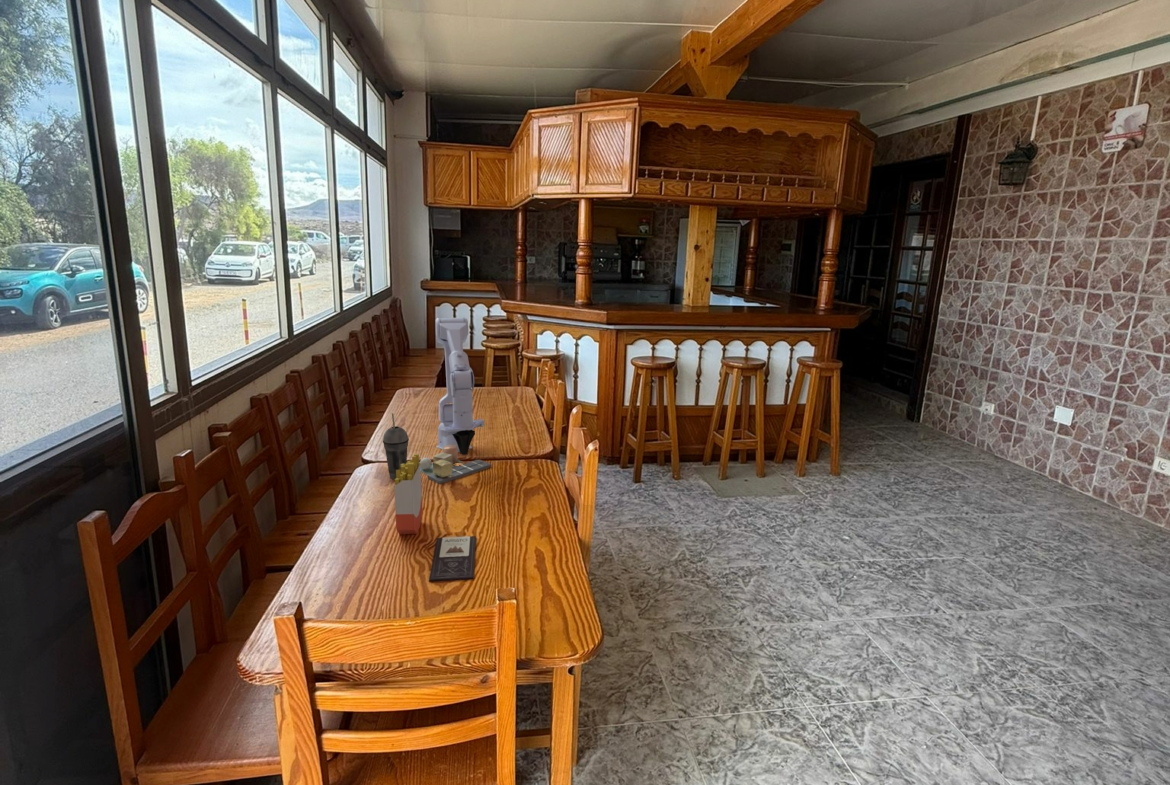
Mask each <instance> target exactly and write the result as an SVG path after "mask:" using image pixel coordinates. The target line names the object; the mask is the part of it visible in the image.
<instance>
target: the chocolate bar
mask: <svg viewBox="0 0 1170 785" xmlns="http://www.w3.org/2000/svg"><path fill="white" fill-rule="evenodd" d="M476 542H477V537H476V535H470V536H449V537H444V536H443V537H436V541H435V545H434V551H433V556H432V562H431V568H430V573H429V577H428V583H431V582H432V583H434V582H436V583H437V582H450V581H451V582H452V581H453V582H454V581H467V580H468V581H469V580H474V579H475V578H474V577H475V563H476V562H475V560H476V559H475V558H476V544H477V543H476Z"/></svg>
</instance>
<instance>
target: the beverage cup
mask: <svg viewBox="0 0 1170 785" xmlns="http://www.w3.org/2000/svg"><path fill="white" fill-rule="evenodd" d="M391 419H392V426H391V427H389V428H388V429H387V430H386V431H384V435H383V436H382V437H383V438H382V443H383V446H384V449H385V457H386V463H387V468H388V469H387V470H388V475H389V479H391V480H394V481H395V479H396V470H401V466H400V465H401V464H406V463H407V461H408V447H409V441H410V439H409V435H408V433H407V431H406V430H405V429H404V428H403V427H400V426H398V425H397V426H396V425H395V424H396V423H395V416H394V412H392V413H391Z"/></svg>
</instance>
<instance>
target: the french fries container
mask: <svg viewBox="0 0 1170 785" xmlns="http://www.w3.org/2000/svg"><path fill="white" fill-rule="evenodd" d="M400 466H401V470H396V479H395V480H394V484H395V485H394V505H395V508H394V509H395V510H394V511H395V512H394V513H395V525H396V527H395V528H396V529H395V530H396V531H397V533H398V534H399V535H417V534H418V532H419V529H420V526H421V525H422V515H423V495H422V493H423V492H422V475H421V474H422V472H421V470H420V454H419V453H414V454H413V455H412V456H411V460H407V463H406V464H401V465H400Z"/></svg>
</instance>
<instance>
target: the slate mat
mask: <svg viewBox="0 0 1170 785" xmlns="http://www.w3.org/2000/svg"><path fill="white" fill-rule="evenodd" d="M457 463H465V462H464V461H462V460H459V459H458V462H457ZM453 467H456V466H455V465H453ZM453 467H452V468H453ZM420 470H421V474H422V473H423V474H424V475H426V476H428V475H431V474H433V463H432V465H431V467H430V468H429V469H427V470H424V469H422V468H421V467H420Z"/></svg>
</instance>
